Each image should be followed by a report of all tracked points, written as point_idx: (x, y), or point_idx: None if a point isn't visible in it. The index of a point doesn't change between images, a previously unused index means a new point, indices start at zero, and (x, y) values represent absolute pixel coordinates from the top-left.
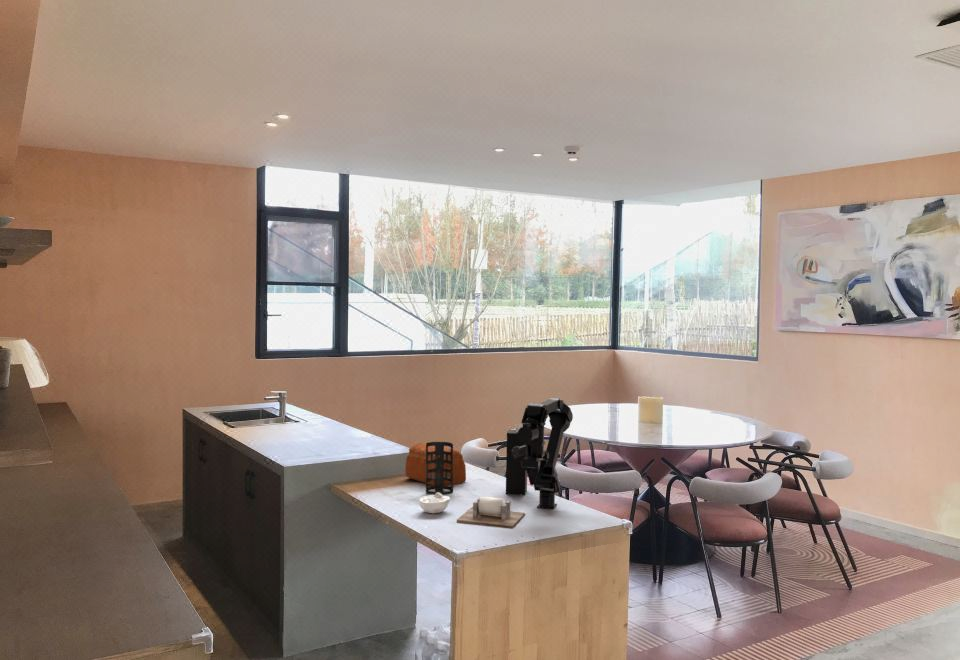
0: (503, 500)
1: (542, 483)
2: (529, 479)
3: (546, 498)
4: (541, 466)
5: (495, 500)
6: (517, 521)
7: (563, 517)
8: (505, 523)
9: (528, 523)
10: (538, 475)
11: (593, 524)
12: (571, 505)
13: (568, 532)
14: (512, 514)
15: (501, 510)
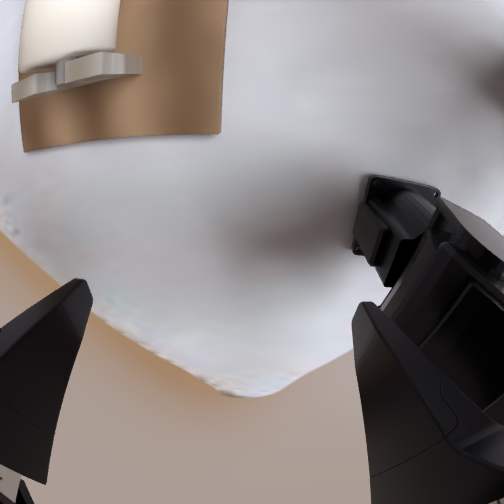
0: (45, 57)
1: (397, 296)
2: (31, 312)
3: (368, 252)
4: (383, 463)
5: (22, 30)
6: (76, 142)
7: (253, 292)
8: (33, 113)
9: (107, 179)
10: (363, 353)
11: (208, 360)
12: None
13: (100, 310)
14: (159, 80)
15: (49, 66)
